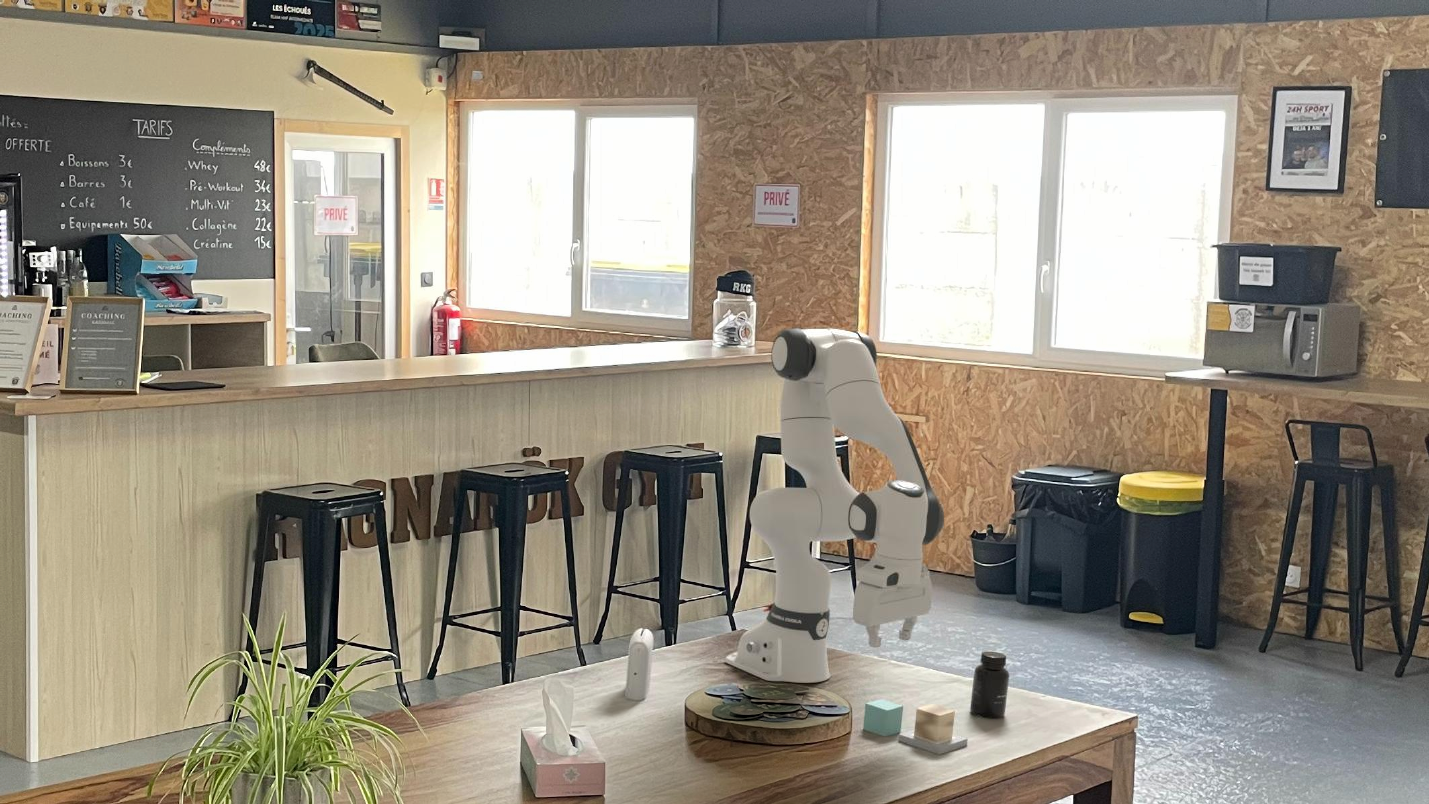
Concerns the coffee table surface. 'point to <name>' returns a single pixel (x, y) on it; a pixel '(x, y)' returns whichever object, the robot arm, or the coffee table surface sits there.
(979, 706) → the supplement bottle
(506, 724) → the coffee table surface
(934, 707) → the maple cube
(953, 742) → the plate
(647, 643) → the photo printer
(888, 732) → the teal cube
